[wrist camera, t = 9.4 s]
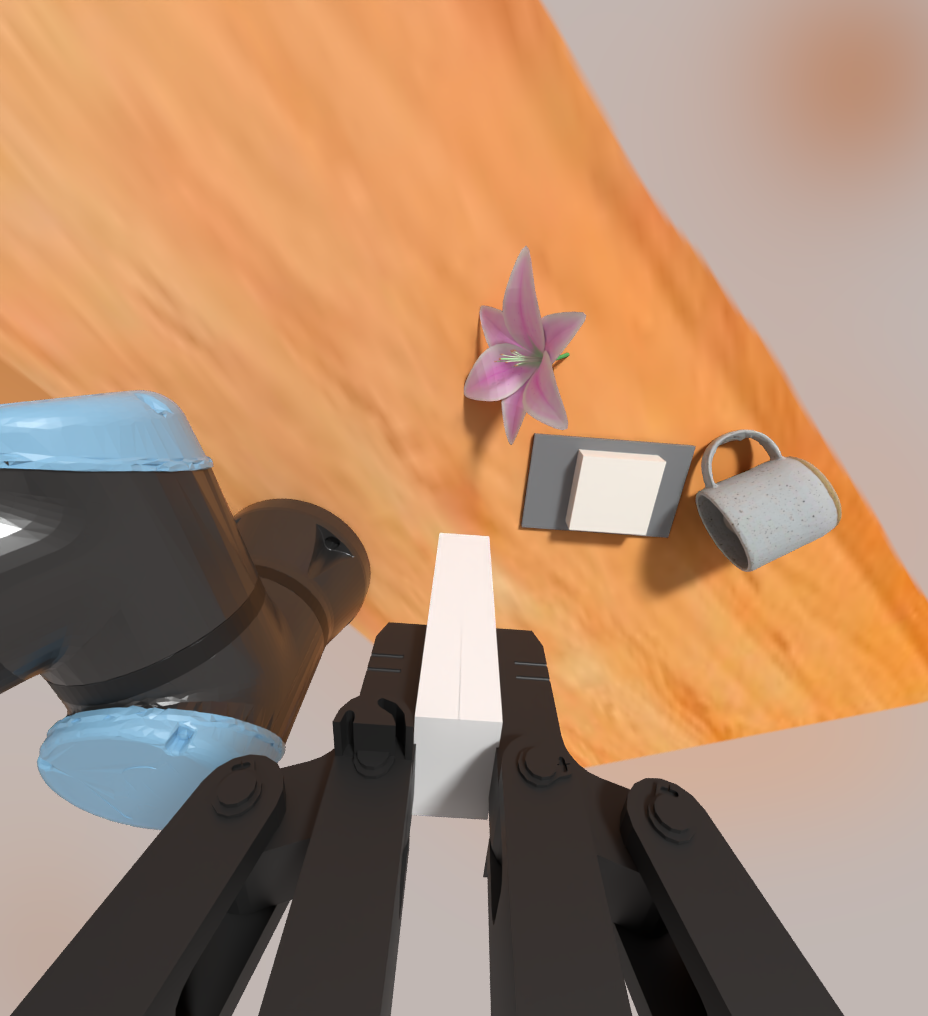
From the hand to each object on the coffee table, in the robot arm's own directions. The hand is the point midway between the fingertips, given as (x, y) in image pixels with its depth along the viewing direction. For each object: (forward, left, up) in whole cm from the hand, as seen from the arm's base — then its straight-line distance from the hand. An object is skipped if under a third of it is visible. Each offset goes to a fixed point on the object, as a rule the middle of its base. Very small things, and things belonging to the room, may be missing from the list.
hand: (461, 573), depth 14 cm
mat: (+13, -7, -26) cm, 30 cm away
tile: (+10, -7, -25) cm, 28 cm away
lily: (+4, +4, -27) cm, 27 cm away
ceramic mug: (+25, -6, -27) cm, 37 cm away
